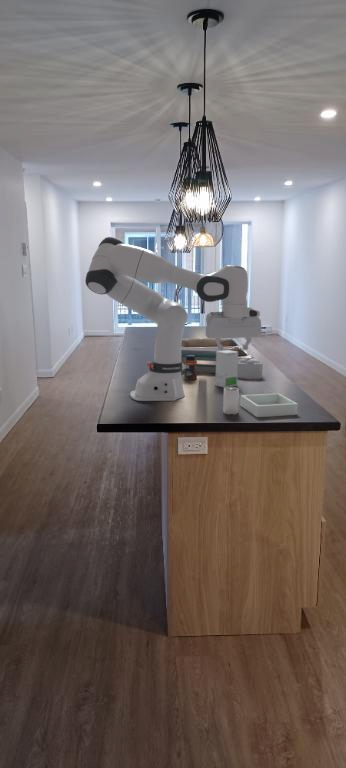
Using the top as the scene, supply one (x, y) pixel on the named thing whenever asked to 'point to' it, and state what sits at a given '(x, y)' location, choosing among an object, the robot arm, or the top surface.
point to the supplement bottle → (190, 368)
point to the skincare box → (226, 368)
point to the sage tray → (268, 405)
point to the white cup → (230, 400)
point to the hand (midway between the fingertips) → (232, 350)
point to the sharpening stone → (202, 357)
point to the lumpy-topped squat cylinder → (249, 368)
